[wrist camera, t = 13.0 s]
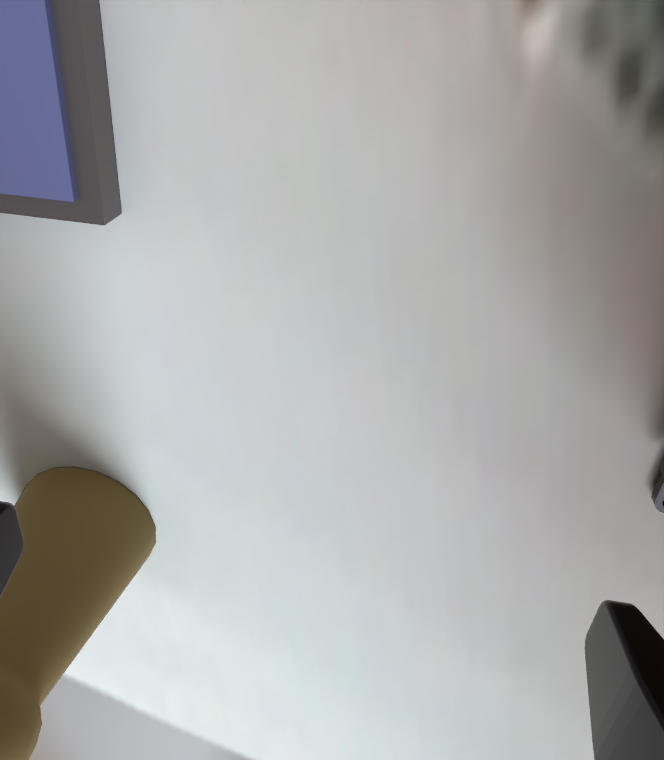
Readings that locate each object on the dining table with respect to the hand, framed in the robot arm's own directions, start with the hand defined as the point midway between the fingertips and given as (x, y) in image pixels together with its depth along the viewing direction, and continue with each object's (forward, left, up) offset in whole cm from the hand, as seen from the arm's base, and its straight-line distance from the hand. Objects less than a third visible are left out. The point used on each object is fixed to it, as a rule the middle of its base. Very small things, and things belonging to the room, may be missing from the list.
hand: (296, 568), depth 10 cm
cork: (+11, +13, -12) cm, 21 cm away
